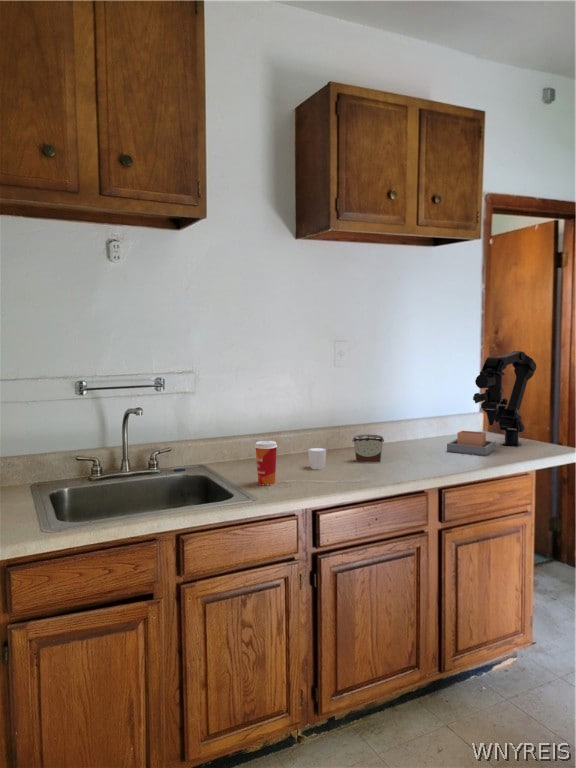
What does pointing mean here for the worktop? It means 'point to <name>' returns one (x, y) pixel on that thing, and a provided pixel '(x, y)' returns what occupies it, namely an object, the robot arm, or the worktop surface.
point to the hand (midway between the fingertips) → (494, 423)
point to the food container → (368, 448)
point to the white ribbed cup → (317, 457)
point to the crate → (471, 448)
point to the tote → (472, 438)
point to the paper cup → (266, 461)
